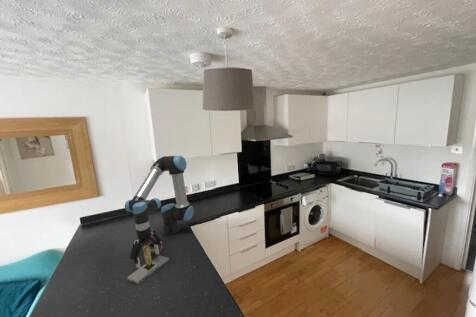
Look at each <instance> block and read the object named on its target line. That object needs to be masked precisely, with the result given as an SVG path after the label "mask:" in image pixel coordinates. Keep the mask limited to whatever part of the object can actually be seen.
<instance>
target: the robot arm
mask: <svg viewBox="0 0 476 317" xmlns="http://www.w3.org/2000/svg"><path fill="white" fill-rule="evenodd" d="M186 169H187V161H186V159H185V157H184V156H183V155H168V156H167V155H165V156H164V155H163V156H162V157H160V158H158V159H157V160H156V161H155V162H154V163H153V164H152V165H151V166H150V168H149V170H150V171H149V173H148V174H147V175H146V177H145V178H144V180H143V182H142V183H141V185H140V186H139V188H138V189H137V191H136V192H135V194H134V196H133V197H132V198H131V199H129V200H126V202H125V204H124V209H125V211H126V212H131V213H133V214H132V215H133V218H134V225H135V230H136V236H137V240H133V241H132V248H131V252H130V257H129V259H130V260H133V262H134V265H135V266H136V268H137V269H140V268H141V267H142V266H141V262H140V257H139V255H140V253H141V250H142V249H143V247H144V246H145V243H147V242H149V241H152V242H153V243H155V244H154V248H155V253H154V254H155V255H158V256H159V255H160V252H159V249H160V248H159V244H160V242H162V240H161V238H160V237H159V236H158V234H157V233H156V230H152V229H151V226H150V225H151V224H150V217H149V215H151V214H153V213H154V212H156V211H158V210H159V209H160V211H161V212H160V214H161V218H162V219H161V220H162V229H161V233H162V234H161V235H164V236H173V235H176V234H178V233H179V232H180V231H181V225H180V223H179V221H184V222H185V221H191V219H192V218H193V215H194V211H195V210H194V207H193V206H192V205H191V204H190V202H189V201H188V198H187V192H186V186H185V185H186V184H185V178H184V173H185V170H186ZM164 172H168V174H169V175H170V176H171V178H172V186H173V192H174V197H175V198H174V199H175V203H176V204H175V203H174V202H171V203H168V204H165V205H163V206H162V202H161V200H160V198H157V197H154V198H152V199H147V198H148V196H149V194H150V193H151V191H152V189H153V187H154V186H155V185H156V183H157V181H158V179H159V177H160V176H162V175H163V174H164ZM151 236H153V237H154V238H155V239H156V240H157V241H156V240H154V239H153V238H151ZM158 248H159V249H158Z"/></svg>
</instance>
